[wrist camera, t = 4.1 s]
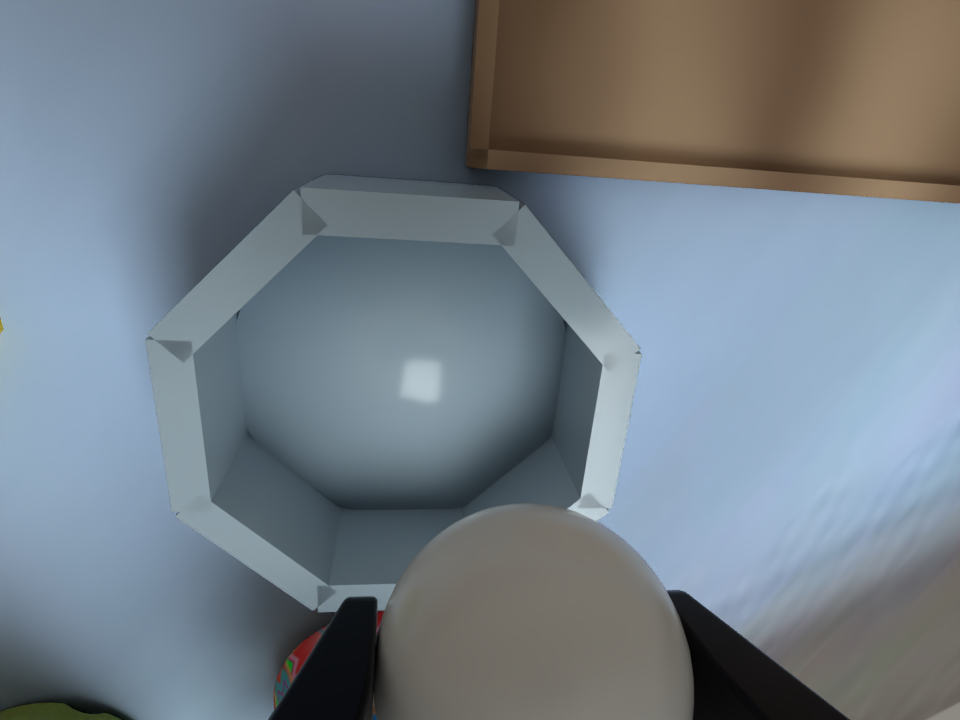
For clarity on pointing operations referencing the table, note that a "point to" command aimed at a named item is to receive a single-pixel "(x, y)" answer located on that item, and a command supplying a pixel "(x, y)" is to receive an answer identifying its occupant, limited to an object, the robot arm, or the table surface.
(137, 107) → the table surface
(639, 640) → the white ball
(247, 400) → the bowl
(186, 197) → the table surface
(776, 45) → the tray
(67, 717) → the plant pot
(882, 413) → the table surface
